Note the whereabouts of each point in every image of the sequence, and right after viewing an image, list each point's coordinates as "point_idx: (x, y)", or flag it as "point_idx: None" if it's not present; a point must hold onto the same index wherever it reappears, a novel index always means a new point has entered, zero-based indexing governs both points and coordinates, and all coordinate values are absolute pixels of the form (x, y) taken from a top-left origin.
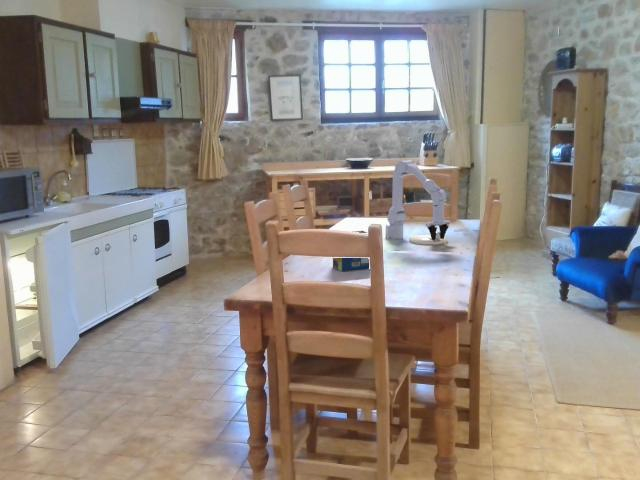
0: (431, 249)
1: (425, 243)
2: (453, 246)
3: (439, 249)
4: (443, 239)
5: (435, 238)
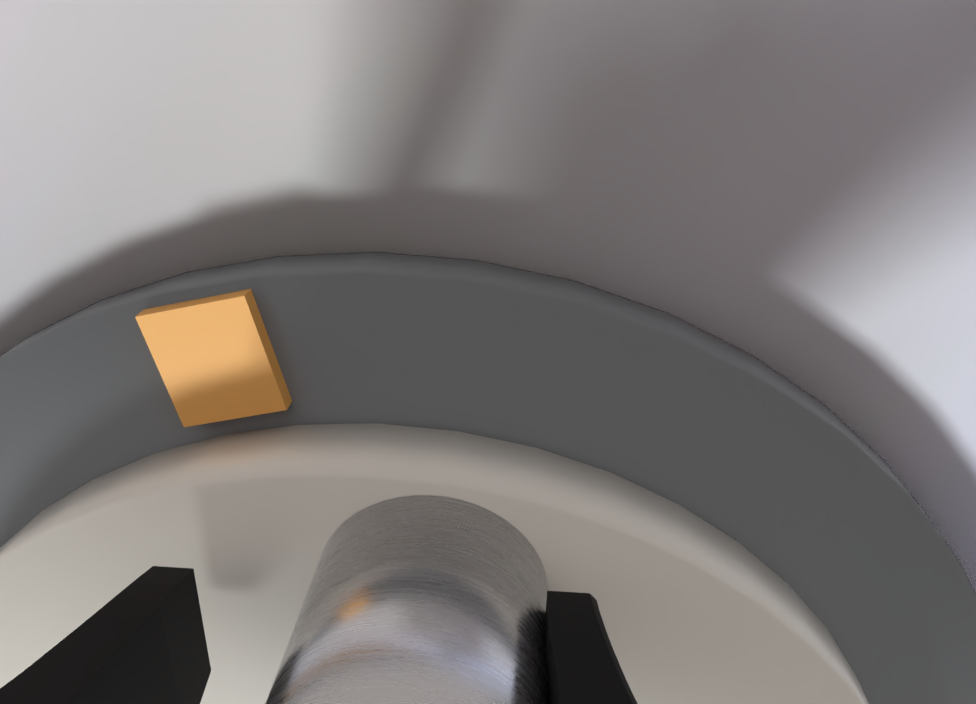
0: (917, 239)
1: (812, 627)
2: (19, 205)
3: (716, 89)
4: None
5: (530, 630)
